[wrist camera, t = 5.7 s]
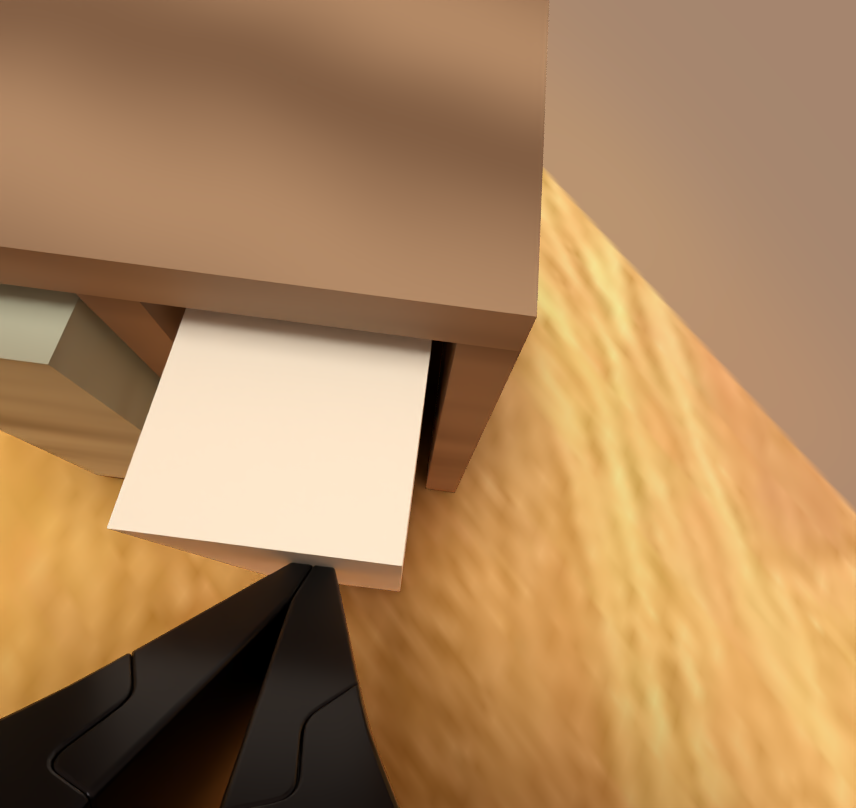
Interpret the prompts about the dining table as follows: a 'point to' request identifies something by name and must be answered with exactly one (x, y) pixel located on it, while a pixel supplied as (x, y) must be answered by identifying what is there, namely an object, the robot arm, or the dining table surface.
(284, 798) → the robot arm
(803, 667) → the dining table surface
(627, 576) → the dining table surface
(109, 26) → the walnut housing
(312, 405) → the white plug
